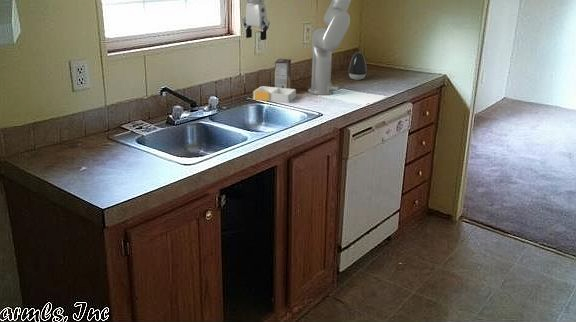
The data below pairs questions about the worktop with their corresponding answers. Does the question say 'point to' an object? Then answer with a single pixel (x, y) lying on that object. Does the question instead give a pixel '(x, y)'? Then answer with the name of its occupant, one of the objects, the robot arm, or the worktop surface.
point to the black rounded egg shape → (357, 67)
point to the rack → (274, 94)
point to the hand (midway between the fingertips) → (256, 38)
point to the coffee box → (283, 73)
